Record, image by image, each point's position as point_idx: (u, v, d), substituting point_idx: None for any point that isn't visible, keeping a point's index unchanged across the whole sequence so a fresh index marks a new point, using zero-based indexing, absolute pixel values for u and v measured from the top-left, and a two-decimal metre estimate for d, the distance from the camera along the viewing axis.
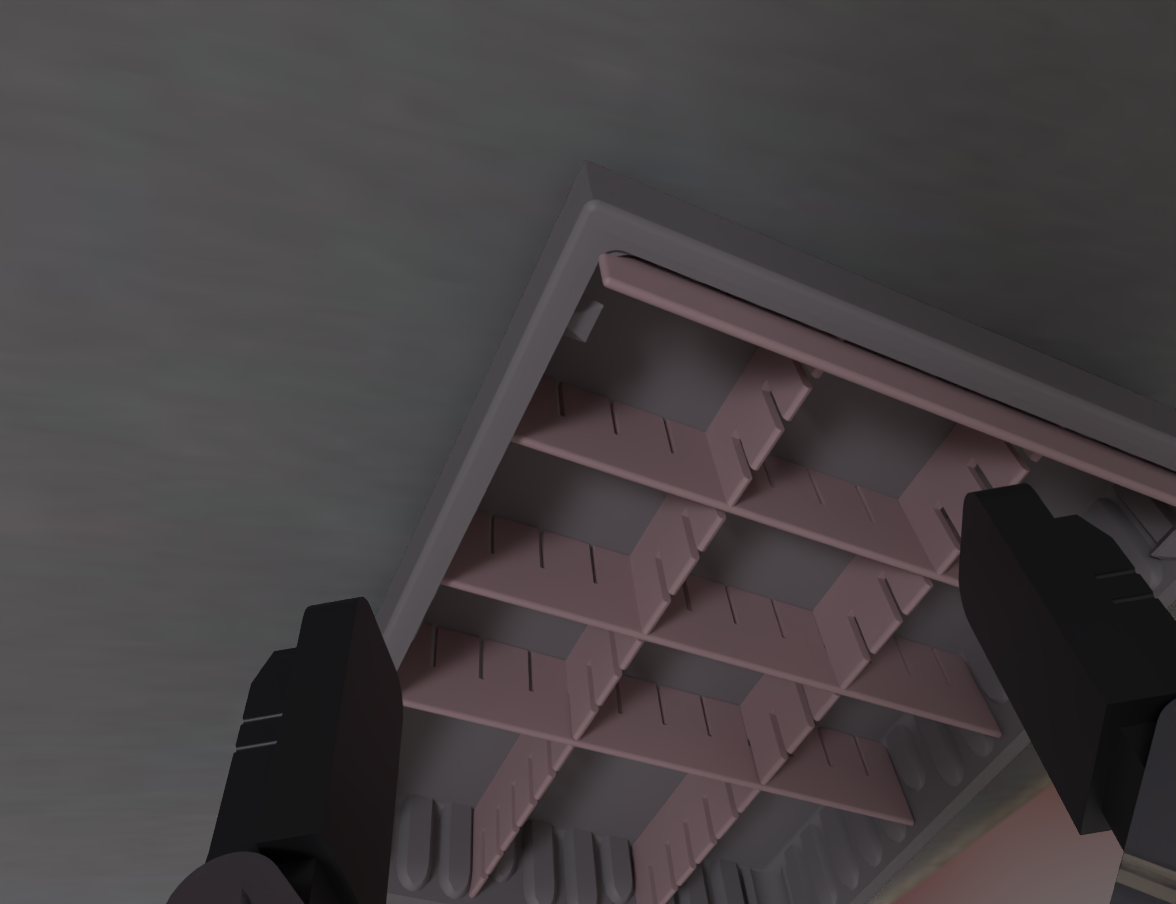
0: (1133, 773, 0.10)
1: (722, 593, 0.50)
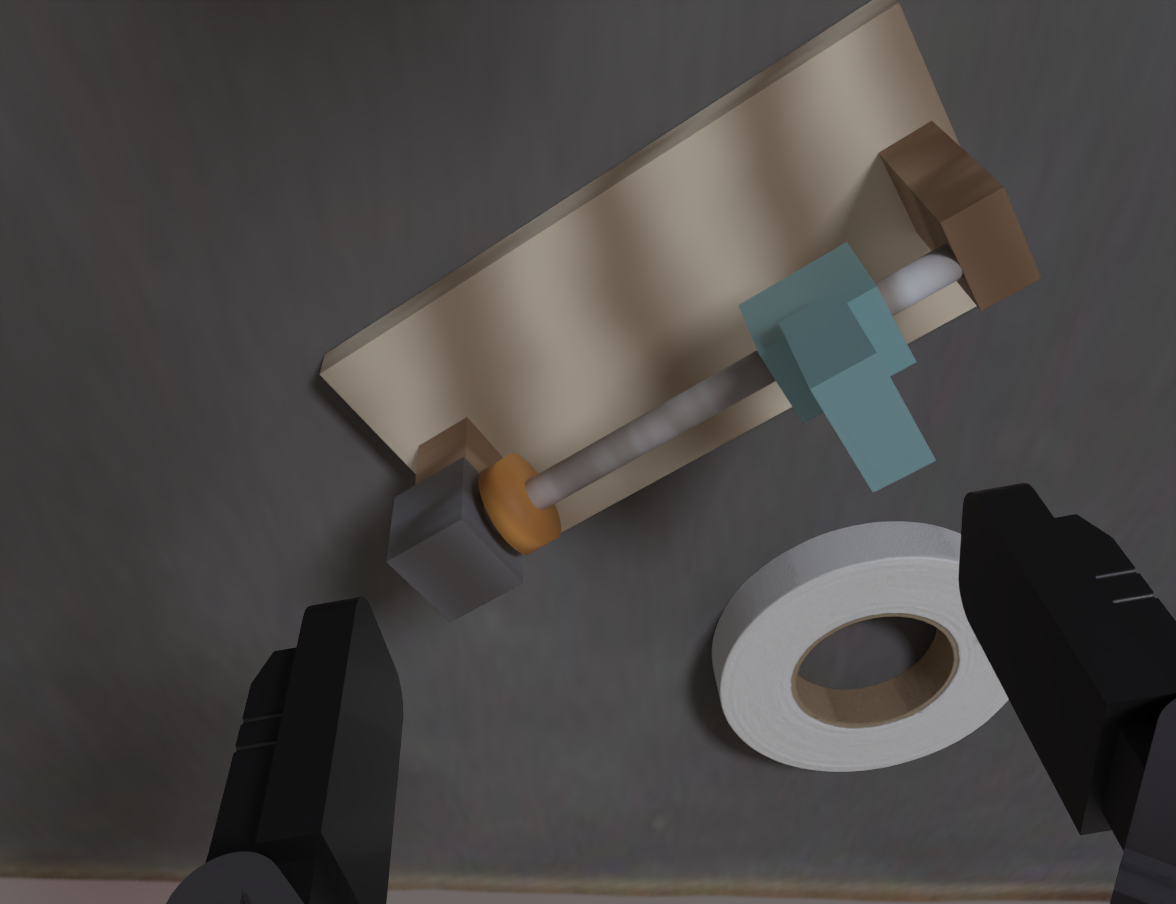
0: (1133, 773, 0.10)
1: None
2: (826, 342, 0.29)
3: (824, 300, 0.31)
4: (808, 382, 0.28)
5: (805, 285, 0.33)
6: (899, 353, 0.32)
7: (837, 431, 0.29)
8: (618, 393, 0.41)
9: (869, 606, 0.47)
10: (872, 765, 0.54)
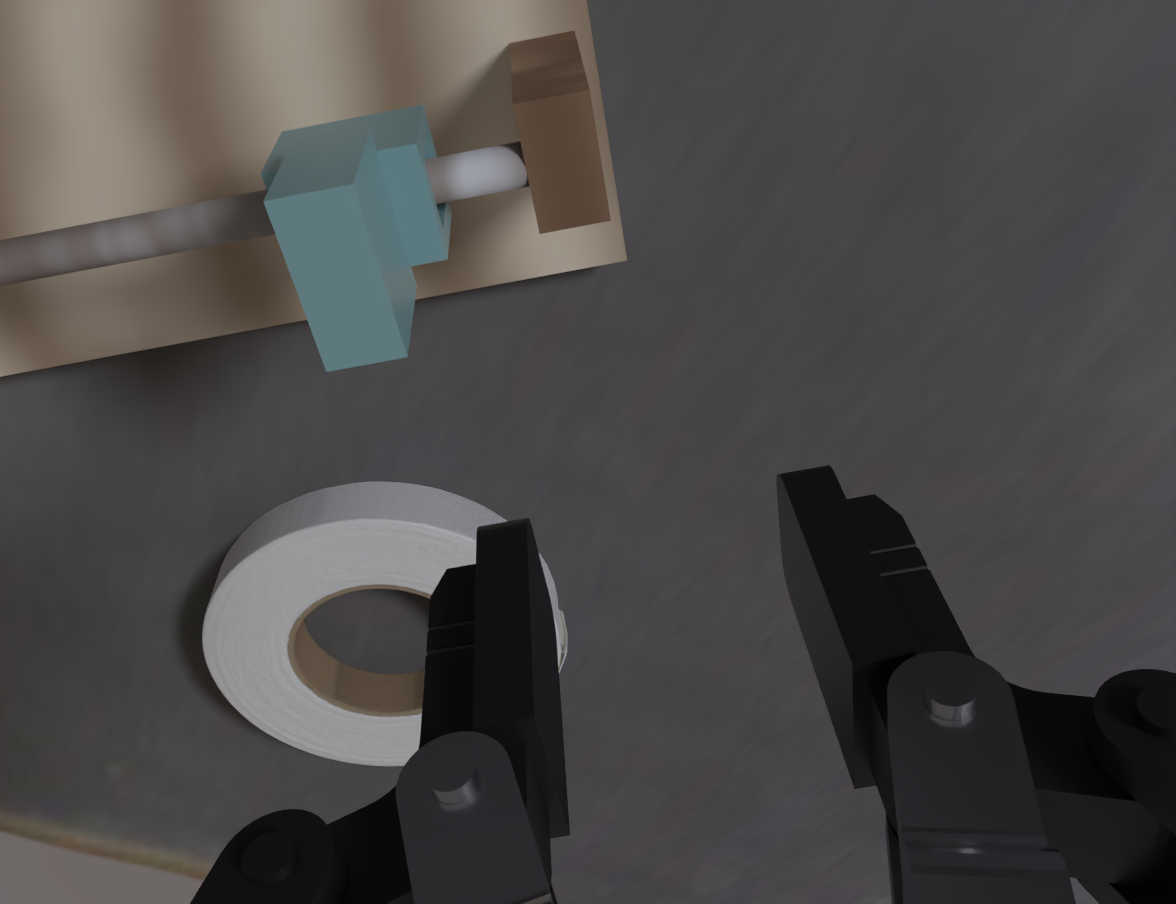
0: (879, 727, 0.11)
1: None
2: (317, 167, 0.23)
3: (349, 133, 0.25)
4: (267, 195, 0.22)
5: (355, 129, 0.27)
6: (429, 240, 0.27)
7: (291, 273, 0.23)
8: None
9: (392, 573, 0.42)
10: (362, 759, 0.49)
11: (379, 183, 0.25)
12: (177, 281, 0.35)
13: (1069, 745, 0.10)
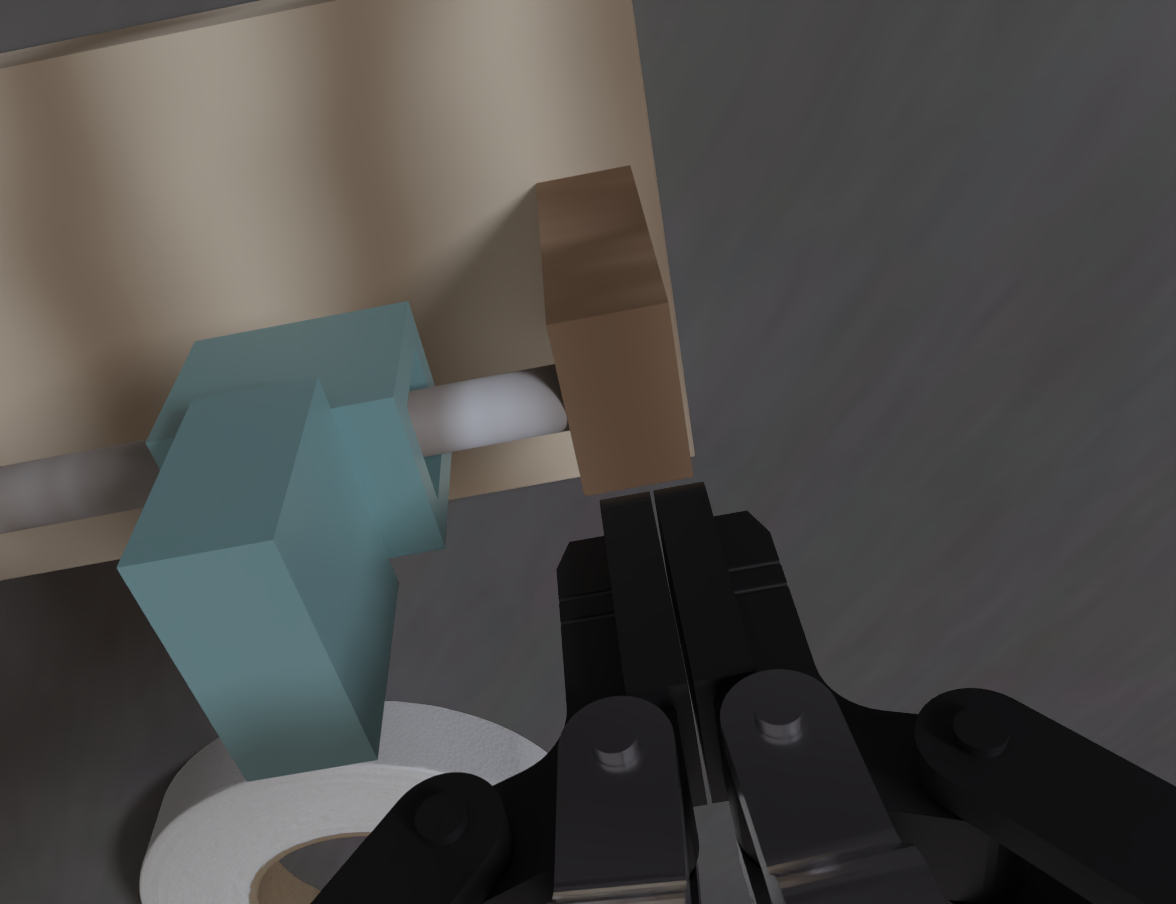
0: (721, 743, 0.11)
1: None
2: (220, 477, 0.14)
3: (283, 389, 0.16)
4: (127, 550, 0.13)
5: (302, 349, 0.18)
6: (417, 525, 0.17)
7: (177, 661, 0.14)
8: (32, 414, 0.24)
9: None
10: None
11: (332, 469, 0.15)
12: None
13: (895, 762, 0.10)
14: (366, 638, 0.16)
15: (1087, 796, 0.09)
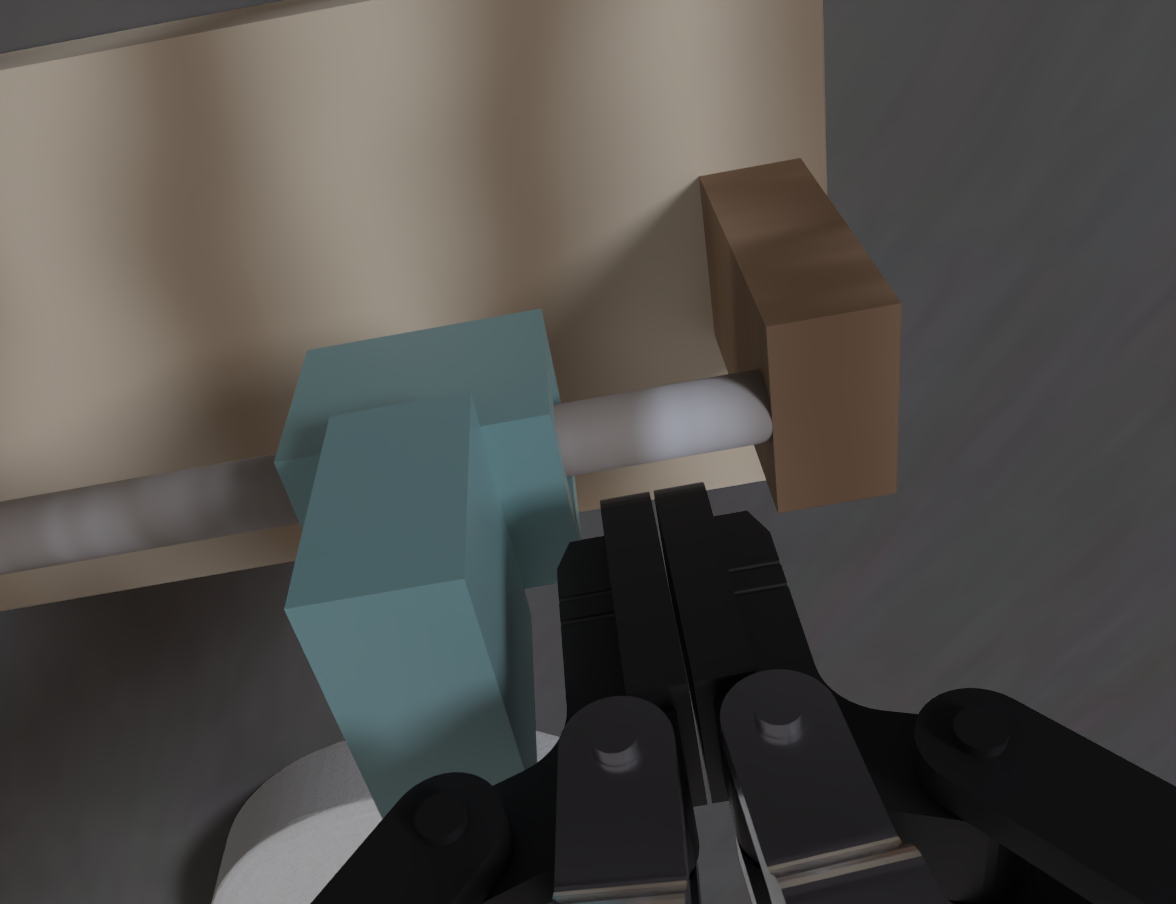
0: (721, 744, 0.11)
1: None
2: (383, 504, 0.12)
3: (433, 405, 0.14)
4: (292, 588, 0.11)
5: (432, 360, 0.16)
6: (558, 553, 0.16)
7: (336, 712, 0.12)
8: (138, 419, 0.22)
9: None
10: None
11: (487, 494, 0.14)
12: None
13: (895, 763, 0.10)
14: (521, 680, 0.14)
15: (1087, 796, 0.09)
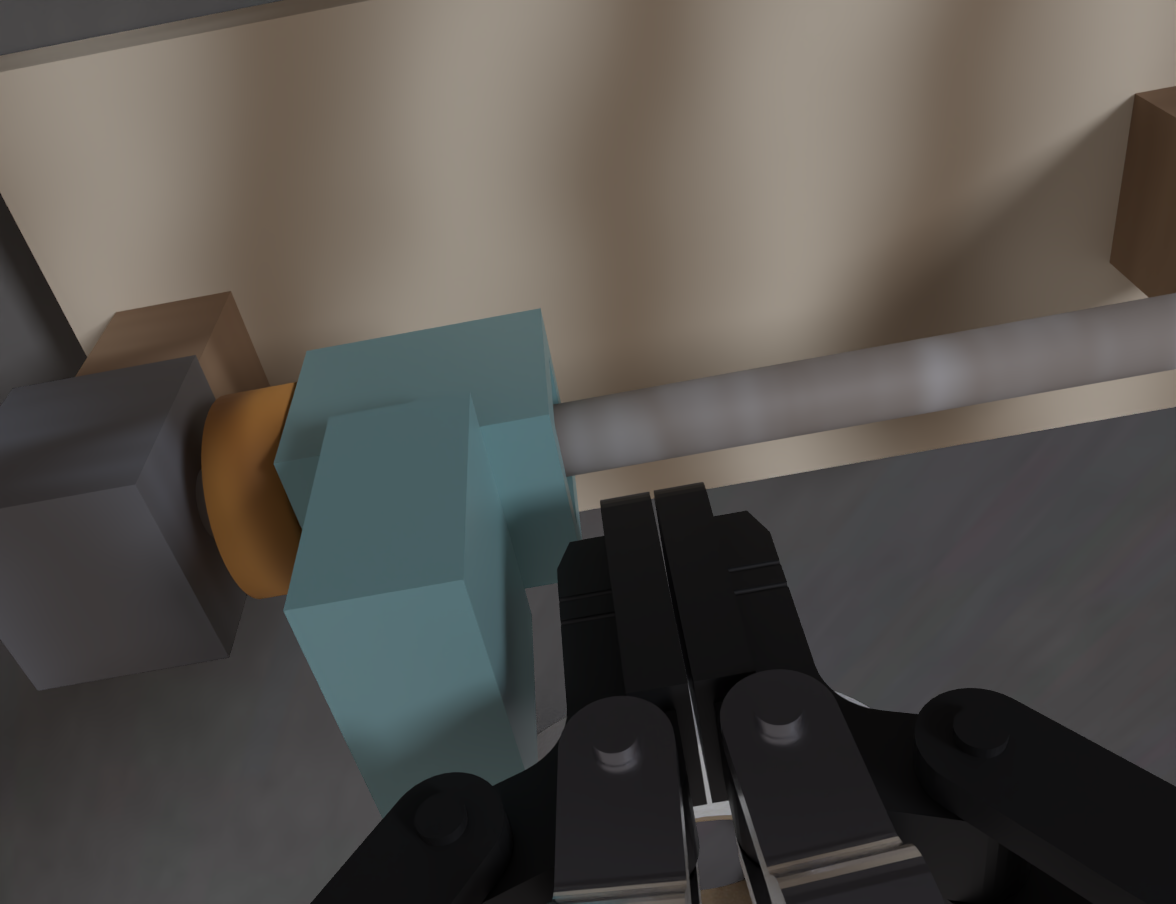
0: (721, 744, 0.11)
1: None
2: (383, 504, 0.12)
3: (433, 405, 0.14)
4: (291, 590, 0.11)
5: (432, 360, 0.16)
6: (558, 553, 0.16)
7: (336, 713, 0.12)
8: None
9: None
10: None
11: (487, 494, 0.14)
12: None
13: (895, 763, 0.10)
14: (521, 680, 0.14)
15: (1087, 796, 0.09)
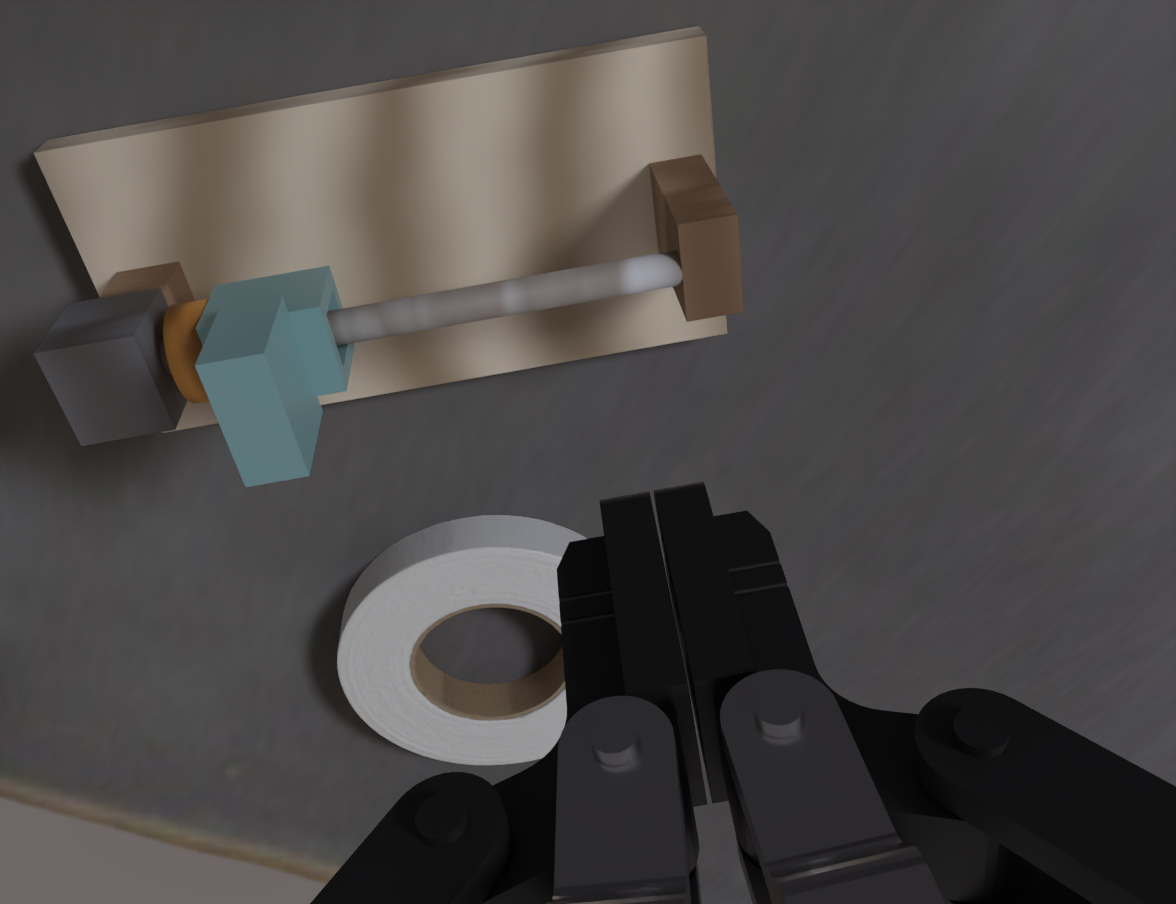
0: (721, 744, 0.11)
1: None
2: (238, 333, 0.31)
3: (265, 300, 0.32)
4: (198, 359, 0.30)
5: (273, 287, 0.34)
6: (331, 377, 0.34)
7: (217, 416, 0.30)
8: (341, 297, 0.40)
9: (508, 594, 0.49)
10: (462, 759, 0.55)
11: (289, 339, 0.32)
12: (356, 349, 0.42)
13: (895, 763, 0.10)
14: (304, 422, 0.32)
15: (1087, 796, 0.09)
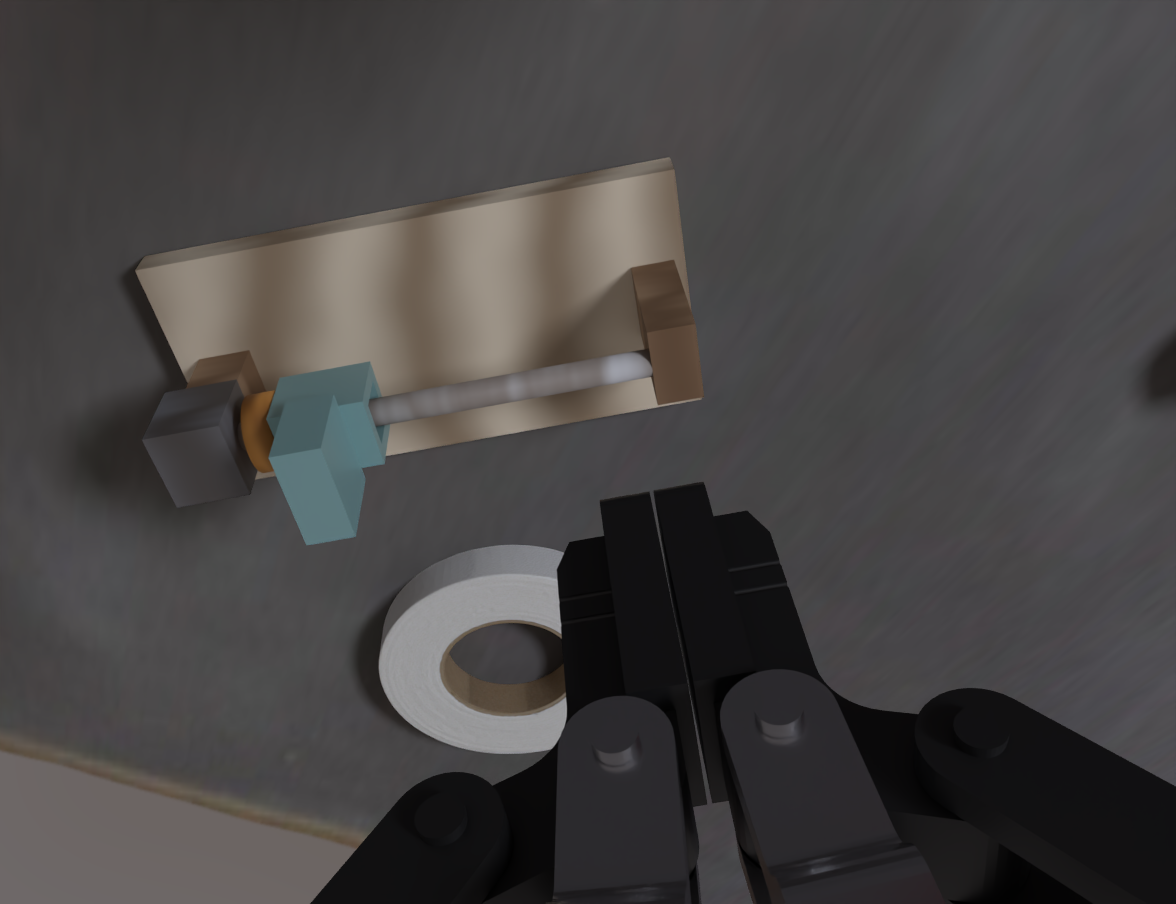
0: (721, 744, 0.11)
1: None
2: (300, 429, 0.39)
3: (320, 398, 0.41)
4: (271, 452, 0.38)
5: (326, 381, 0.43)
6: (372, 453, 0.43)
7: (285, 493, 0.39)
8: (379, 375, 0.49)
9: (522, 612, 0.58)
10: (485, 748, 0.64)
11: (339, 428, 0.41)
12: None
13: (896, 763, 0.10)
14: (351, 493, 0.41)
15: (1087, 796, 0.09)
